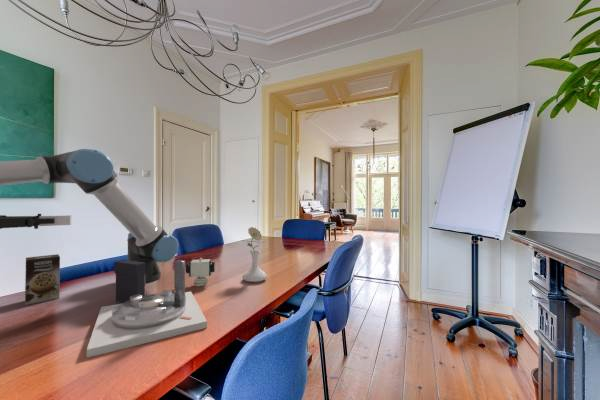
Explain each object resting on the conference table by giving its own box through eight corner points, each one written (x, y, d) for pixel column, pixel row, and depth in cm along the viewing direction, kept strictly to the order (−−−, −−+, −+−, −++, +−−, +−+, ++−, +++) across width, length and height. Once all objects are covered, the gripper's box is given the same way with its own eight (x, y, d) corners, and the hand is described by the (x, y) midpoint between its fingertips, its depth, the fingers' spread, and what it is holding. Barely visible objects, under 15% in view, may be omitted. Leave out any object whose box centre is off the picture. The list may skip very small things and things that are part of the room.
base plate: (101, 312, 86) (101, 306, 86) (191, 296, 101) (191, 290, 101) (86, 357, 62) (86, 348, 62) (206, 327, 77) (206, 320, 77)
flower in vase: (271, 281, 120) (271, 228, 119) (248, 285, 113) (248, 229, 113) (259, 274, 130) (259, 225, 130) (237, 278, 124) (237, 226, 124)
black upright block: (146, 302, 95) (147, 261, 95) (136, 306, 91) (136, 264, 91) (125, 298, 98) (125, 259, 98) (113, 302, 94) (114, 261, 94)
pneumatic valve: (213, 286, 112) (214, 259, 112) (185, 287, 110) (185, 260, 110) (215, 282, 118) (215, 256, 118) (188, 283, 115) (188, 257, 115)
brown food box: (25, 305, 91) (25, 260, 91) (24, 300, 95) (24, 257, 95) (60, 298, 97) (60, 256, 97) (58, 293, 102) (58, 253, 102)
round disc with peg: (114, 337, 67) (114, 274, 67) (109, 310, 82) (109, 259, 82) (194, 315, 80) (194, 262, 80) (177, 295, 95) (177, 251, 95)
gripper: (-41, 235, 68) (75, 230, 81) (-76, 243, 57) (65, 235, 70) (-41, 207, 68) (75, 206, 81) (-76, 209, 57) (65, 208, 70)
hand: (70, 220), depth 75 cm, fingers closed
